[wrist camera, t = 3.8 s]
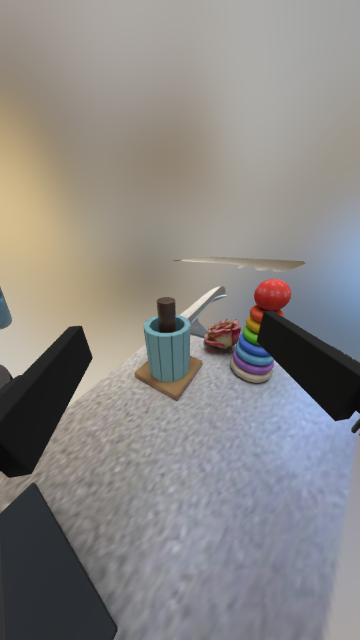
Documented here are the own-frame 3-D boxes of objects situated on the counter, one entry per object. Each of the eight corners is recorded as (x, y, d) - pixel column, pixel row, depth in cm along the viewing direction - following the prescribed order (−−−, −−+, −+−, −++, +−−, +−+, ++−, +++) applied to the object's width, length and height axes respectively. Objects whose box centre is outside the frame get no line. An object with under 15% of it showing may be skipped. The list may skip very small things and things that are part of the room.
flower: (253, 342, 38) (240, 312, 39) (244, 356, 31) (228, 319, 31) (218, 350, 44) (207, 324, 45) (204, 364, 37) (190, 333, 37)
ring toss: (135, 377, 32) (120, 304, 24) (165, 350, 39) (160, 288, 32) (177, 400, 27) (174, 319, 20) (202, 364, 34) (206, 296, 27)
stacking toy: (229, 379, 31) (246, 283, 22) (230, 353, 37) (244, 272, 29) (274, 389, 29) (313, 288, 20) (267, 360, 35) (294, 275, 27)
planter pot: (141, 371, 31) (134, 327, 27) (165, 349, 37) (163, 310, 33) (175, 389, 27) (173, 342, 23) (196, 361, 33) (197, 320, 29)
